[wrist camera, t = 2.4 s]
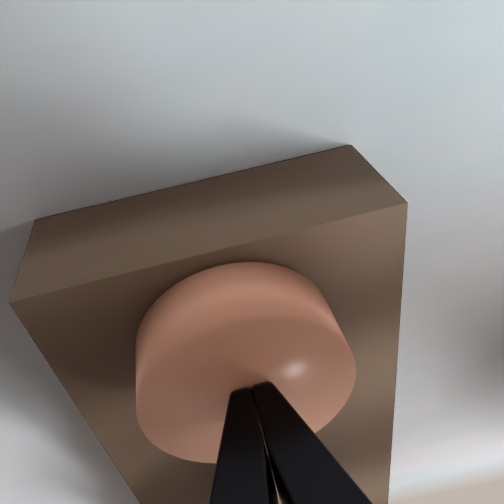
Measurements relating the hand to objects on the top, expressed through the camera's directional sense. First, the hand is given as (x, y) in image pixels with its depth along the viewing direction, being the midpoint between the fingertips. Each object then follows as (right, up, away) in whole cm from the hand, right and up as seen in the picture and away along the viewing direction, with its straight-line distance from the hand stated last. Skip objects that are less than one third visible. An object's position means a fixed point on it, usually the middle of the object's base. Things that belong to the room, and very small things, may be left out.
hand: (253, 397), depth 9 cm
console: (0, -2, +7) cm, 8 cm away
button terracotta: (0, +1, +1) cm, 2 cm away
